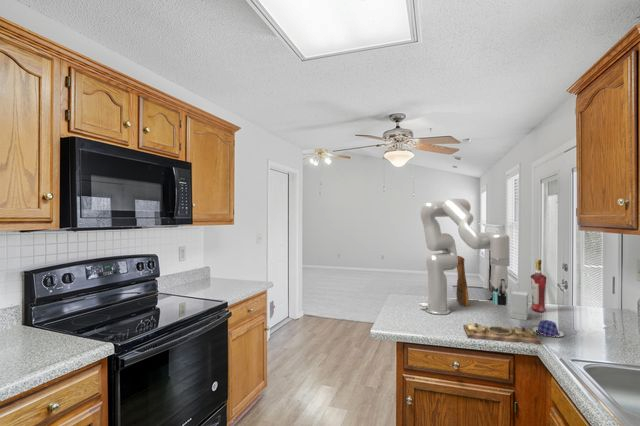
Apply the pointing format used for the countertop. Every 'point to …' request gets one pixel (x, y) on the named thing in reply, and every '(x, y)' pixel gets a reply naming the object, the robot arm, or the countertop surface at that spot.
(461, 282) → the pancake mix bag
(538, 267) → the liquor
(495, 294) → the loose gear
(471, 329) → the gear board
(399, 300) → the countertop surface
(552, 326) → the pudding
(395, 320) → the countertop surface
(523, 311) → the supplement box
